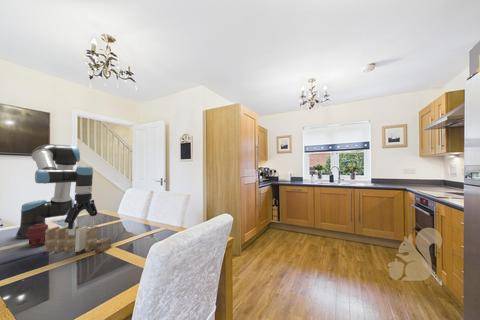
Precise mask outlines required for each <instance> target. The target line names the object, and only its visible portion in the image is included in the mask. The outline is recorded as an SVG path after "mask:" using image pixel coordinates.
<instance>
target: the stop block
mask: <svg viewBox="0 0 480 320" xmlns="http://www.w3.org/2000/svg"><path fill="white" fill-rule="evenodd" d="M111 247H112V237H103V238H101V239H99V240H97V242H95V243H94V249H93V252H94V253H103V252H104V251H105V250H107V249H108V248H109V249H110V248H111Z"/></svg>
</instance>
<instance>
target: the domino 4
mask: <svg viewBox="0 0 480 320" xmlns="http://www.w3.org/2000/svg"><path fill="white" fill-rule="evenodd" d="M88 228H89V227H88V226H86V225H85V226H82V227H78V229H76V242H75V249H74V252H75V253H77V252H78V253H79V252H81V251H83V250H85V243H86V229H88Z"/></svg>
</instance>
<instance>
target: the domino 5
mask: <svg viewBox="0 0 480 320" xmlns="http://www.w3.org/2000/svg"><path fill="white" fill-rule="evenodd" d="M98 228H99V227H98V226H97V225H94V227H88V229H86V243H85V249H84V252H91V251H92V250H93V251H94V243H95V242H97V241H98Z"/></svg>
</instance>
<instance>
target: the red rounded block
mask: <svg viewBox="0 0 480 320" xmlns="http://www.w3.org/2000/svg"><path fill="white" fill-rule="evenodd" d="M47 229H49V224H47V223H46V224H35V225H33V226H31V227H28V232H27V233H26V234H25V236H26V237H29V238H28V245H29V248H30V249H31V248H35V247H40V246H45V234H46V230H47Z"/></svg>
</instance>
